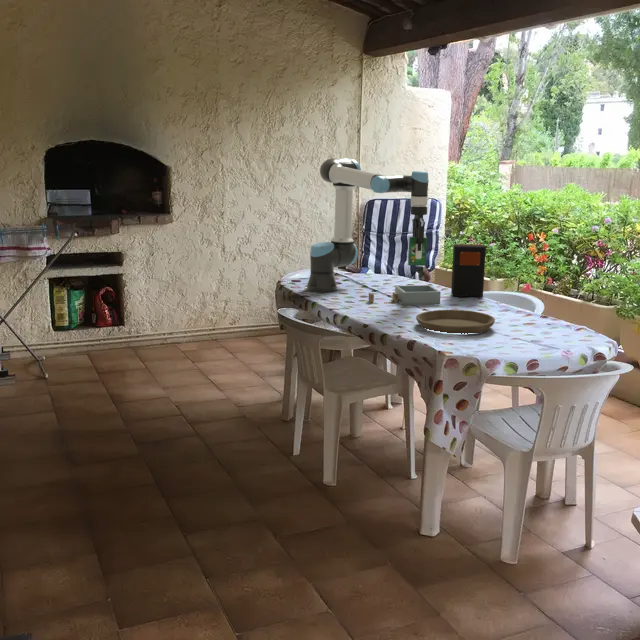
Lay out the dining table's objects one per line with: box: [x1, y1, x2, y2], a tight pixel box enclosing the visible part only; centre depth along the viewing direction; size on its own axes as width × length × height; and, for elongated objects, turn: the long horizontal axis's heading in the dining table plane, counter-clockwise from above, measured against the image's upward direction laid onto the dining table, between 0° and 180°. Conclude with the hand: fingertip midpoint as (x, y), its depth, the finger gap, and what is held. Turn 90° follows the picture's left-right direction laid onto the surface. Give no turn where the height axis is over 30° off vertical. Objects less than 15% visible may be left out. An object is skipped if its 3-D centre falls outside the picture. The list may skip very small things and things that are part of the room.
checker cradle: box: [368, 291, 399, 303], centre depth 341 cm, size 4×13×4 cm, turn 98°
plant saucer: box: [415, 309, 496, 334], centre depth 292 cm, size 31×31×5 cm
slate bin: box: [394, 284, 442, 306], centre depth 342 cm, size 17×17×6 cm
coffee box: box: [407, 236, 428, 266], centre depth 337 cm, size 8×3×13 cm, turn 96°
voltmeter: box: [450, 243, 487, 298], centre depth 353 cm, size 16×9×25 cm, turn 84°
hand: (417, 257), depth 337 cm, fingers closed on coffee box, 3 cm apart
